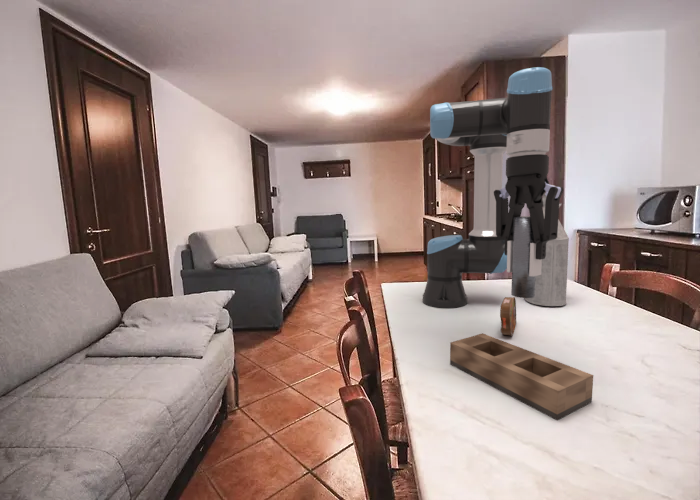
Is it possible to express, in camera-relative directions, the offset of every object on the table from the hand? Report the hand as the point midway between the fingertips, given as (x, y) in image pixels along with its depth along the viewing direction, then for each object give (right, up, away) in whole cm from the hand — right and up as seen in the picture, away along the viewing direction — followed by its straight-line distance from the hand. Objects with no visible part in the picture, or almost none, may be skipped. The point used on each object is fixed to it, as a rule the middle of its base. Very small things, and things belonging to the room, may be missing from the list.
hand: (523, 273), depth 73 cm
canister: (+32, -13, +50) cm, 61 cm away
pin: (0, -5, +1) cm, 5 cm away
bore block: (-3, -21, -2) cm, 22 cm away
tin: (+8, -18, +25) cm, 32 cm away
